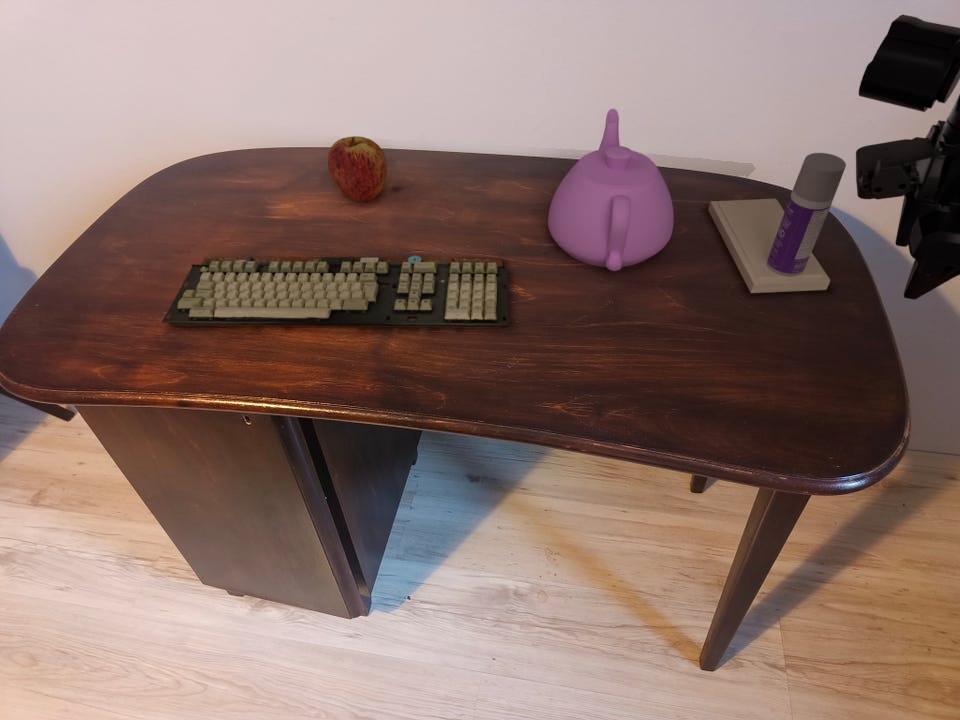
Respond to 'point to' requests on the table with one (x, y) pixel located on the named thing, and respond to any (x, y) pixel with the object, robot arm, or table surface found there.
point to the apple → (357, 167)
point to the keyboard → (344, 292)
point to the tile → (760, 245)
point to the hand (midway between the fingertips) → (904, 270)
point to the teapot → (612, 206)
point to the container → (805, 213)
